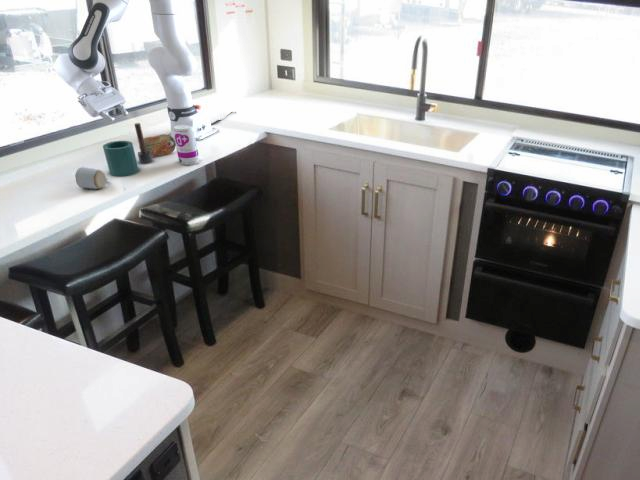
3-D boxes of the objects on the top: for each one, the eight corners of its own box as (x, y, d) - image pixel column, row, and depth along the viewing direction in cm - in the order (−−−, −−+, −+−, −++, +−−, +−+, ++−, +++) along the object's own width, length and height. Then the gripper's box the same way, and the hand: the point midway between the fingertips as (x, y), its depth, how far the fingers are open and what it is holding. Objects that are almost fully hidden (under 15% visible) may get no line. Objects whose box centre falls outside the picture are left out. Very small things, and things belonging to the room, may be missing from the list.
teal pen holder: (126, 165, 240) (120, 139, 234) (144, 169, 236) (138, 143, 230) (104, 173, 232) (96, 146, 226) (122, 178, 228) (115, 150, 222)
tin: (143, 159, 246) (139, 140, 242) (140, 157, 248) (136, 138, 244) (177, 152, 255) (173, 133, 250) (174, 150, 257) (170, 131, 252)
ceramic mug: (98, 192, 215) (93, 172, 211) (78, 190, 216) (72, 170, 212) (114, 182, 224) (109, 163, 220) (94, 180, 225) (89, 161, 221)
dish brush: (146, 159, 247) (138, 121, 238) (154, 161, 245) (146, 123, 236) (137, 162, 243) (127, 124, 234) (145, 164, 241) (136, 126, 232)
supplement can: (193, 166, 240) (187, 130, 232) (175, 164, 241) (168, 128, 233) (203, 159, 247) (196, 124, 239) (185, 158, 248) (178, 123, 240)
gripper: (78, 92, 221) (107, 119, 225) (110, 80, 238) (137, 106, 242) (71, 103, 224) (100, 130, 228) (103, 91, 241) (130, 116, 245)
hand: (119, 117), depth 235 cm, fingers open, 8 cm apart
